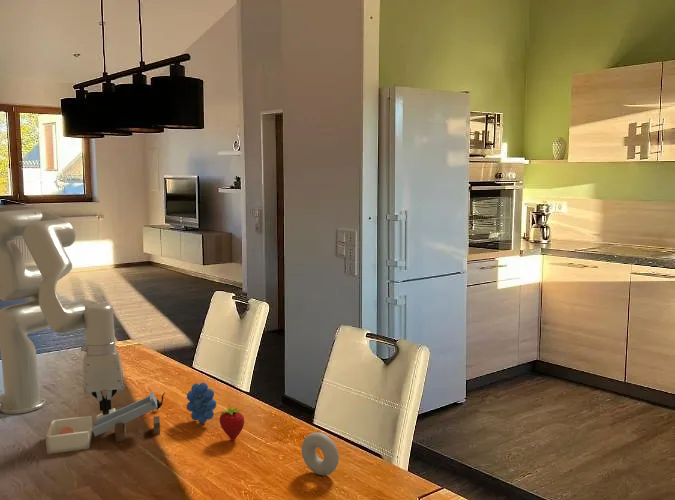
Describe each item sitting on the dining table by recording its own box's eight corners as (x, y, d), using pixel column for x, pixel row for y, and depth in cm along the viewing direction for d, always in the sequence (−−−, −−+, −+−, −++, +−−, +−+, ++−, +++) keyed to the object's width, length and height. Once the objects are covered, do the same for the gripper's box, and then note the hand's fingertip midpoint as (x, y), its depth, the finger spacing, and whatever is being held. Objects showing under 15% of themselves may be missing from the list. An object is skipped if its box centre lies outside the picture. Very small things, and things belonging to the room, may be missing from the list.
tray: (47, 454, 165) (45, 437, 164) (53, 435, 176) (52, 420, 176) (89, 448, 168) (87, 432, 167) (92, 430, 179) (91, 415, 179)
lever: (95, 438, 171) (90, 426, 170) (99, 420, 183) (94, 409, 183) (158, 410, 174) (152, 398, 174) (157, 394, 187) (152, 383, 186)
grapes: (227, 422, 183) (226, 381, 181) (209, 430, 177) (207, 388, 176) (200, 414, 190) (198, 374, 188) (181, 421, 184) (179, 380, 183)
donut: (299, 471, 152) (297, 430, 151) (308, 466, 155) (307, 425, 154) (333, 483, 146) (332, 440, 145) (342, 477, 149) (341, 435, 148)
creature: (133, 418, 191) (157, 414, 189) (128, 401, 190) (152, 396, 188) (147, 408, 198) (170, 404, 196) (142, 392, 198) (165, 387, 196)
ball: (66, 445, 170) (55, 437, 169) (67, 440, 174) (57, 432, 173) (76, 435, 171) (65, 427, 170) (77, 430, 174) (67, 422, 173)
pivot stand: (115, 442, 171) (114, 424, 171) (116, 431, 178) (115, 414, 178) (124, 441, 172) (123, 423, 171) (125, 430, 179) (124, 413, 178)
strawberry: (231, 447, 166) (229, 410, 165) (215, 439, 172) (213, 403, 170) (250, 440, 170) (248, 404, 169) (233, 432, 176) (232, 397, 174)
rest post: (154, 434, 176) (153, 423, 175) (154, 427, 180) (153, 416, 180) (160, 434, 176) (159, 422, 176) (160, 427, 181) (159, 416, 180)
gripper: (70, 355, 174) (76, 421, 176) (129, 349, 178) (133, 413, 180) (73, 348, 181) (78, 411, 183) (130, 342, 185) (134, 404, 188)
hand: (106, 412), depth 182 cm, fingers closed
